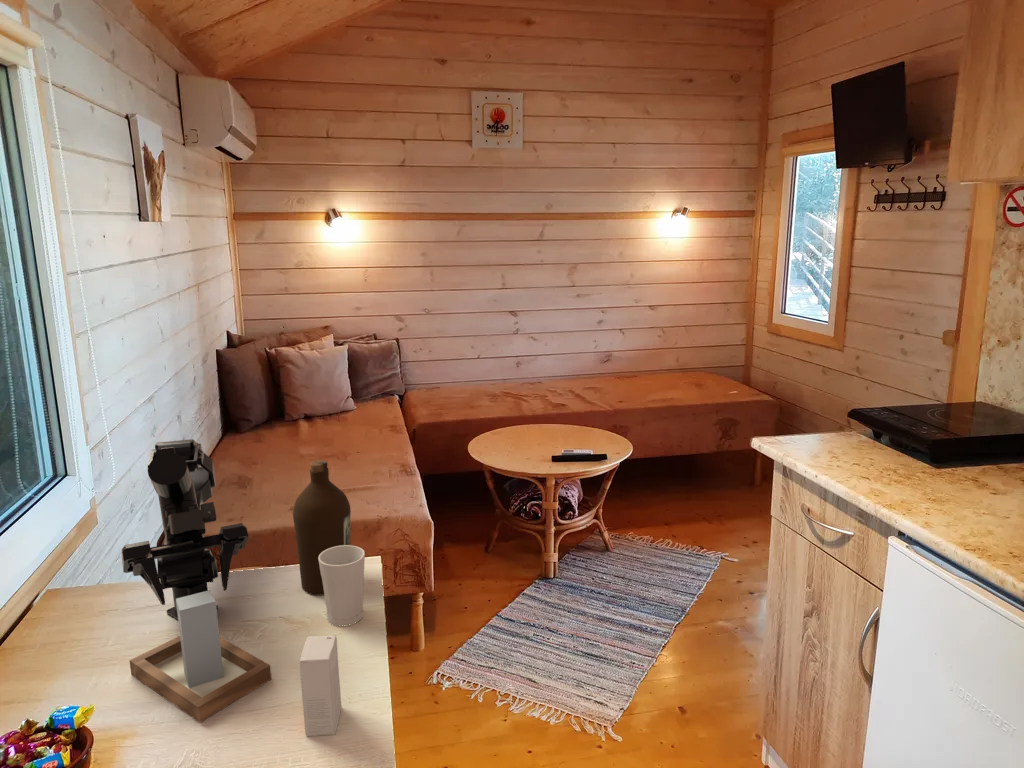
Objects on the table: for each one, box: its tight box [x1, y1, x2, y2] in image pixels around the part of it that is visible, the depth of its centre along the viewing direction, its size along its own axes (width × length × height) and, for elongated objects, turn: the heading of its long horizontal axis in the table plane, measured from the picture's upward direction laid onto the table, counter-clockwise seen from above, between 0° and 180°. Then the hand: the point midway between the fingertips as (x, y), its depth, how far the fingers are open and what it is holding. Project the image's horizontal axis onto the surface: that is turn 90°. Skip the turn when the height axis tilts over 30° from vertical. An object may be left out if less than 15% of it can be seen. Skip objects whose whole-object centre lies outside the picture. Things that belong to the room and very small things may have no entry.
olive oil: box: [292, 459, 352, 596], centre depth 138 cm, size 11×11×25 cm
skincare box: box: [298, 634, 342, 737], centre depth 101 cm, size 6×4×12 cm
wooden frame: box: [129, 635, 272, 723], centre depth 112 cm, size 19×12×2 cm, turn 54°
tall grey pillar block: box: [176, 589, 224, 688], centre depth 110 cm, size 4×5×13 cm
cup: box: [318, 544, 366, 627], centre depth 128 cm, size 8×8×12 cm
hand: (195, 597), depth 115 cm, fingers open, 9 cm apart
